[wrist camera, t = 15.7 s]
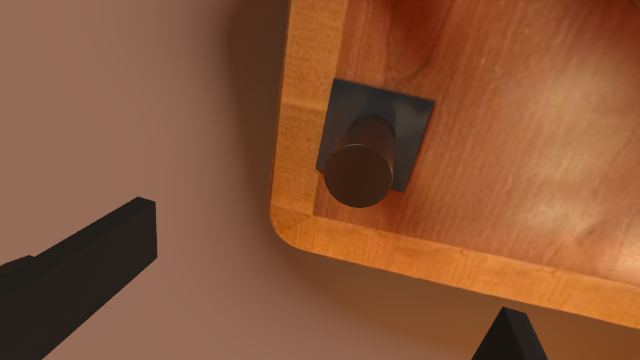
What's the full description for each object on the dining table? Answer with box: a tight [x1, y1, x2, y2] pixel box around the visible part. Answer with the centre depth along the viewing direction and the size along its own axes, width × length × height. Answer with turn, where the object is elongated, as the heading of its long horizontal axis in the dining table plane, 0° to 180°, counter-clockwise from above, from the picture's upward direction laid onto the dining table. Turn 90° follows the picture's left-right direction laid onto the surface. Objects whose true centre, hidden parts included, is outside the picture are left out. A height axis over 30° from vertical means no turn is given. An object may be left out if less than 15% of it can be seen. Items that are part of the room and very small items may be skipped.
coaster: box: [316, 78, 435, 193], centre depth 33 cm, size 10×10×1 cm
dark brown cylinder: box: [324, 114, 395, 208], centre depth 28 cm, size 5×5×11 cm
